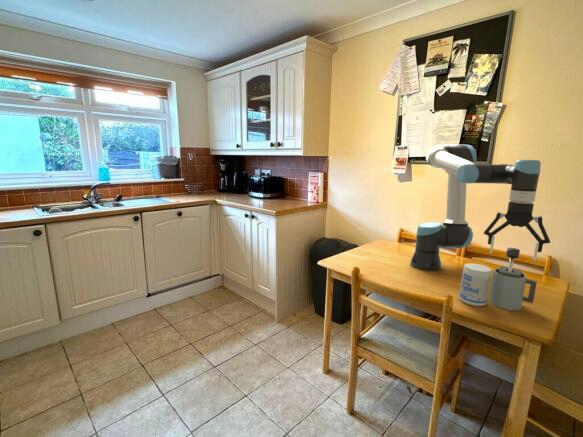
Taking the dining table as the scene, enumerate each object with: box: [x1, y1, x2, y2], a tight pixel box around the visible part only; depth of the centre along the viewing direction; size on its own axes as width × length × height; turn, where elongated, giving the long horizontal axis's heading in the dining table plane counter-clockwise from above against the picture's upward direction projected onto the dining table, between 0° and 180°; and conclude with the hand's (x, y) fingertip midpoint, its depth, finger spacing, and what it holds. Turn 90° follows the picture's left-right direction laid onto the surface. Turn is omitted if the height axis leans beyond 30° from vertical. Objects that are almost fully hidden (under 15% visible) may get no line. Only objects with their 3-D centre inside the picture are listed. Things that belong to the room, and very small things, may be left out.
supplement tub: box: [458, 262, 493, 307], centre depth 119 cm, size 10×10×15 cm
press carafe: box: [488, 265, 538, 311], centre depth 116 cm, size 14×10×14 cm
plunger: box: [505, 247, 521, 277], centre depth 116 cm, size 8×8×20 cm
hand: (511, 256), depth 115 cm, fingers open, 13 cm apart
